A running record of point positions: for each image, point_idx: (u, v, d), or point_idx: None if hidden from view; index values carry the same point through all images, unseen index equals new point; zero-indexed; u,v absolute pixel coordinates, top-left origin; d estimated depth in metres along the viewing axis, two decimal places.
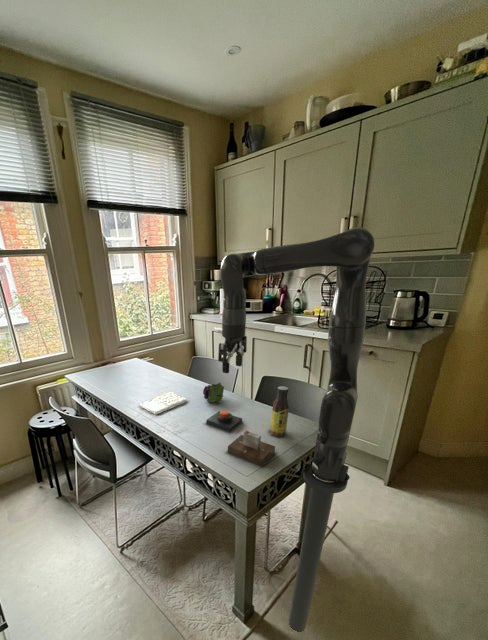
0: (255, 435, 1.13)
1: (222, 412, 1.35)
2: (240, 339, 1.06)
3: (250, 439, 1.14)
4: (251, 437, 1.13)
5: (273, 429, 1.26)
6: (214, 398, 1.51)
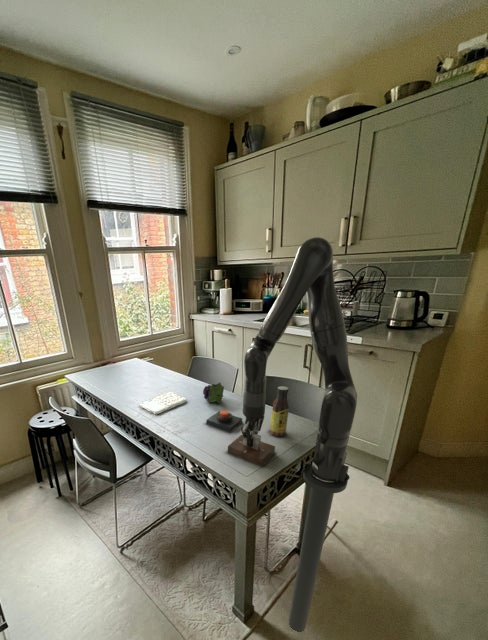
0: (255, 435, 1.13)
1: (222, 412, 1.35)
2: None
3: None
4: None
5: (273, 429, 1.26)
6: (214, 398, 1.51)
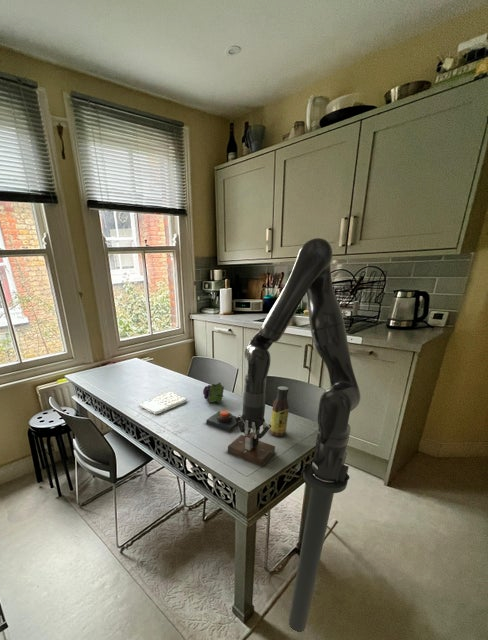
0: None
1: (222, 412, 1.35)
2: None
3: None
4: None
5: (273, 429, 1.26)
6: (214, 398, 1.51)
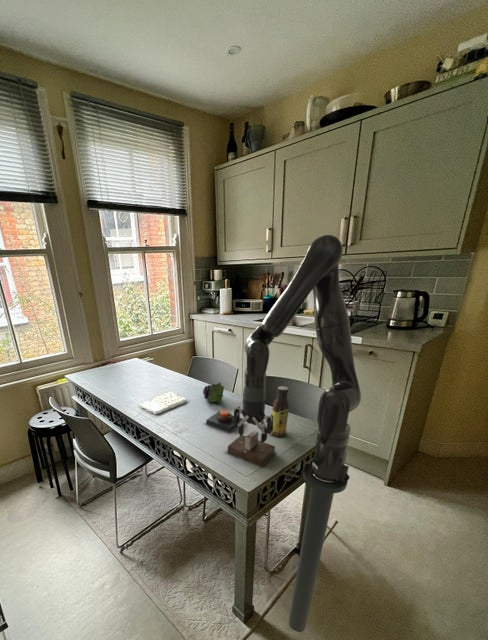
0: (254, 432, 1.14)
1: (222, 412, 1.35)
2: None
3: (254, 439, 1.14)
4: (255, 436, 1.13)
5: (273, 429, 1.26)
6: (214, 398, 1.51)
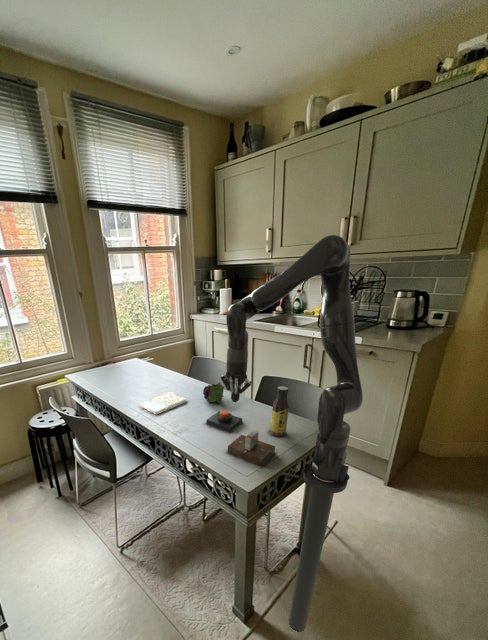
0: (254, 432, 1.14)
1: (222, 412, 1.35)
2: None
3: (254, 439, 1.14)
4: (255, 436, 1.13)
5: (273, 429, 1.26)
6: (214, 398, 1.51)
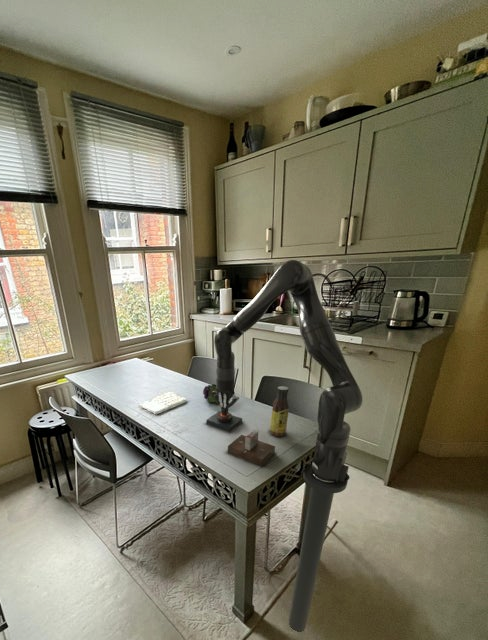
0: (254, 432, 1.14)
1: None
2: None
3: (254, 439, 1.14)
4: (255, 436, 1.13)
5: (273, 429, 1.26)
6: None
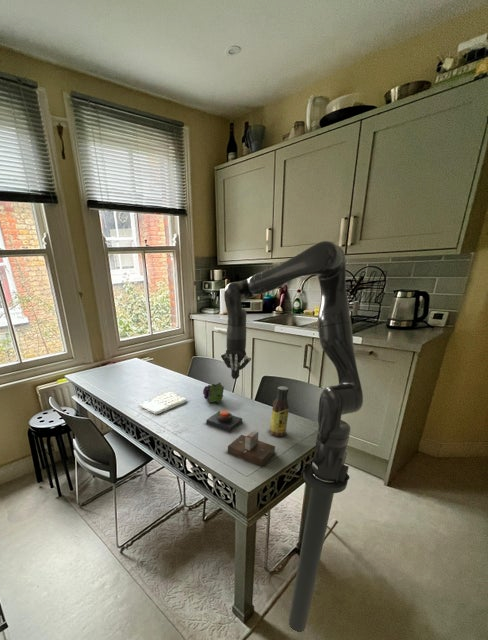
0: (254, 432, 1.14)
1: (222, 412, 1.35)
2: None
3: (254, 439, 1.14)
4: (255, 436, 1.13)
5: (273, 429, 1.26)
6: (214, 398, 1.51)
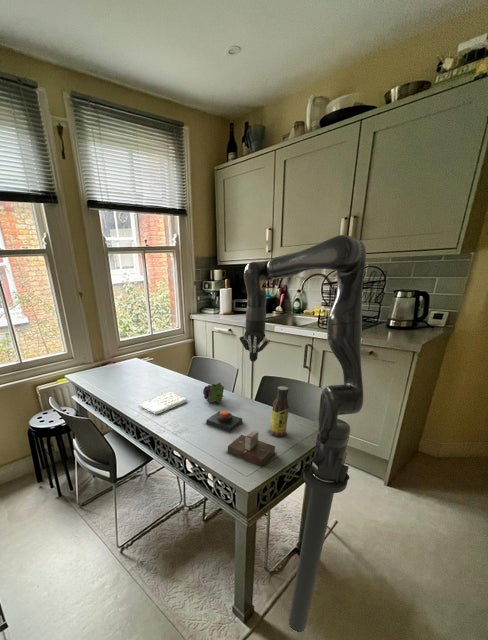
0: (254, 432, 1.14)
1: (222, 412, 1.35)
2: None
3: (254, 439, 1.14)
4: (255, 436, 1.13)
5: (273, 429, 1.26)
6: (214, 398, 1.51)
